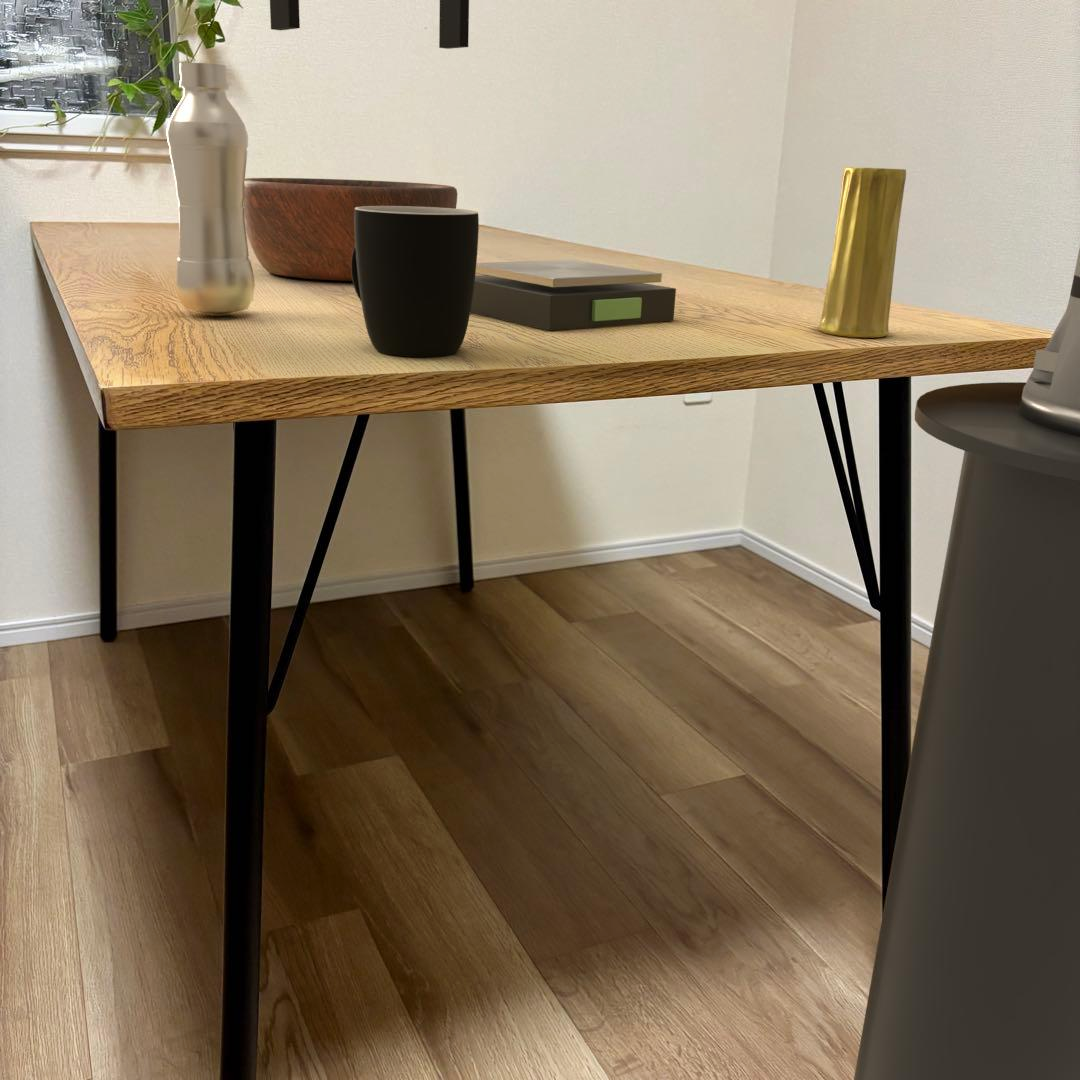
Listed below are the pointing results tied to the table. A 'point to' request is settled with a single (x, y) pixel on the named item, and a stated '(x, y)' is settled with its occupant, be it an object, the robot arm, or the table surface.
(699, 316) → the table surface
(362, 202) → the wooden bowl
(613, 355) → the table surface
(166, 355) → the table surface
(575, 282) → the scale pan
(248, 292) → the silver bottle
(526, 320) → the scale
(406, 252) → the mug
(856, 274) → the vase
